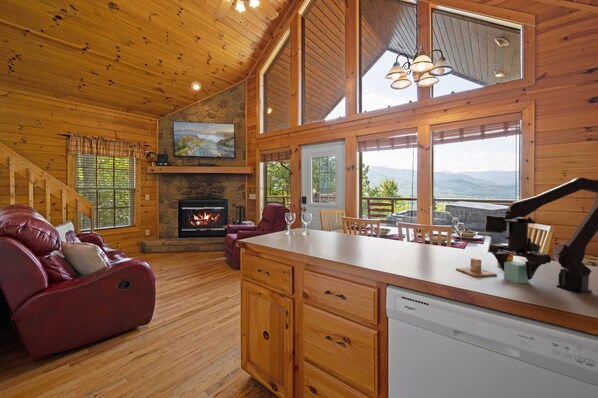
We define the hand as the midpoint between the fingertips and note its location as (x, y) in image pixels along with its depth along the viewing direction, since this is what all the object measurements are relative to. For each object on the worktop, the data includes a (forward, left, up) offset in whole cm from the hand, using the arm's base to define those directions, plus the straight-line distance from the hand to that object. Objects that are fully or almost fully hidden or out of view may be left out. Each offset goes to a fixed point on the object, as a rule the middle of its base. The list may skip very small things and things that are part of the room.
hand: (516, 275), depth 100 cm
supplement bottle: (+15, -13, -2) cm, 20 cm away
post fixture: (+11, +7, -2) cm, 13 cm away
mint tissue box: (0, 0, -2) cm, 2 cm away
